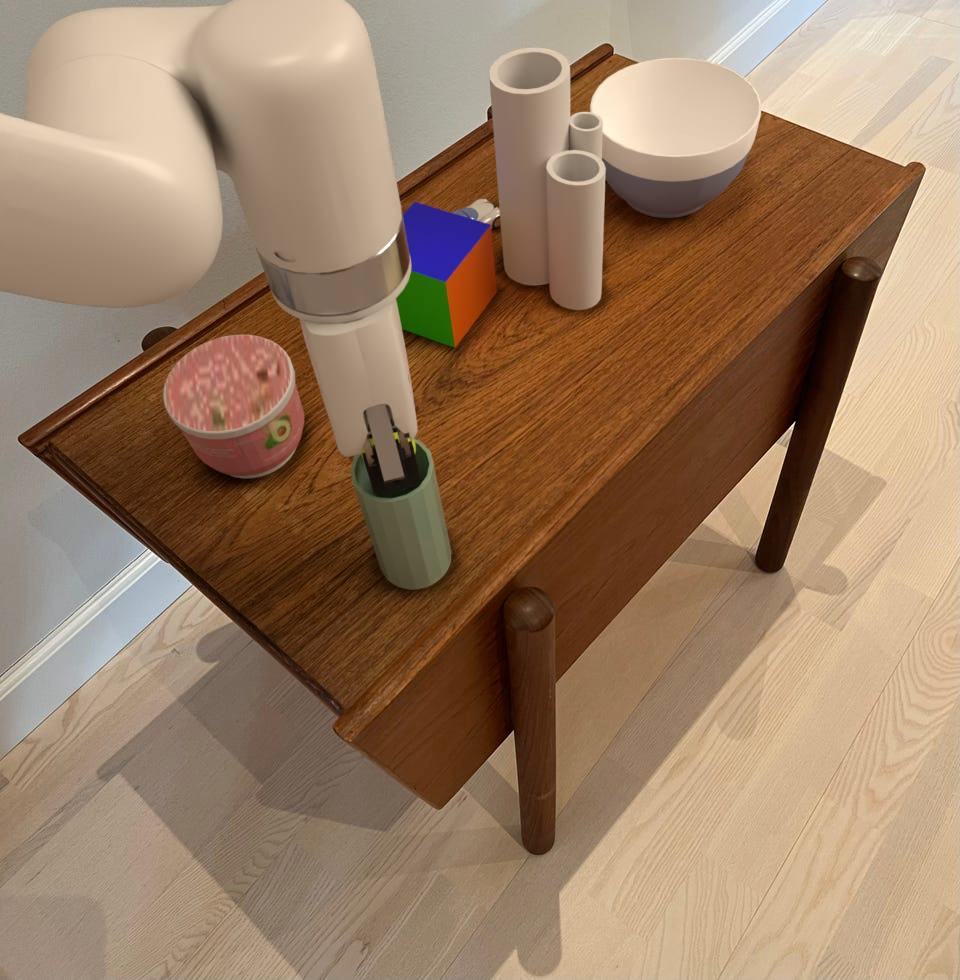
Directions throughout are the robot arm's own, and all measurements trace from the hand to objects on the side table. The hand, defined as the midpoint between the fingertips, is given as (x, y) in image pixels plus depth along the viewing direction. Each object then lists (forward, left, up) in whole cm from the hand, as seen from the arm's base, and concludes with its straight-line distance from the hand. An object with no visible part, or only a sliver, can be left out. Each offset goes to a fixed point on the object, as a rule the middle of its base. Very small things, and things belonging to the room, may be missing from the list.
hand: (391, 462), depth 63 cm
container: (-11, +15, -13) cm, 23 cm away
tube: (0, 0, -13) cm, 13 cm away
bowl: (+34, +35, -13) cm, 51 cm away
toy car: (+14, +36, -13) cm, 41 cm away
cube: (+8, +26, -13) cm, 30 cm away
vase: (+20, +27, -13) cm, 36 cm away
